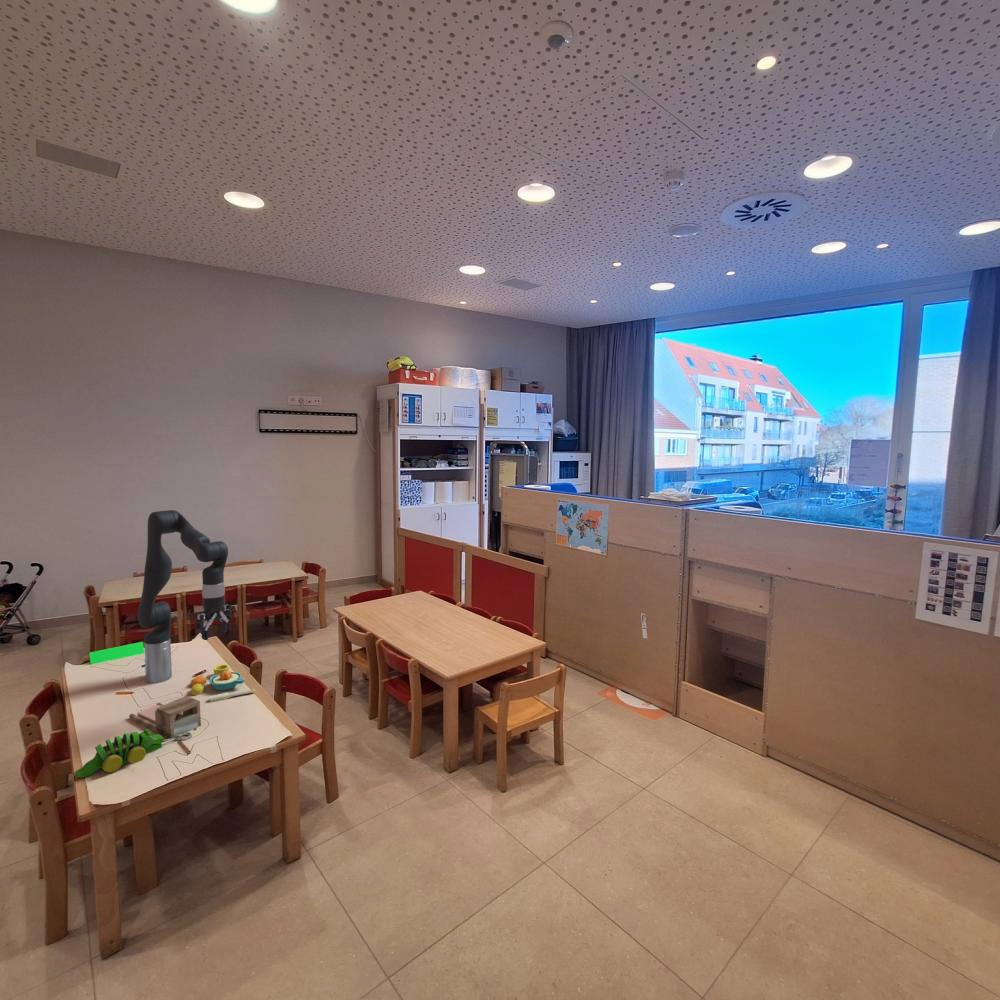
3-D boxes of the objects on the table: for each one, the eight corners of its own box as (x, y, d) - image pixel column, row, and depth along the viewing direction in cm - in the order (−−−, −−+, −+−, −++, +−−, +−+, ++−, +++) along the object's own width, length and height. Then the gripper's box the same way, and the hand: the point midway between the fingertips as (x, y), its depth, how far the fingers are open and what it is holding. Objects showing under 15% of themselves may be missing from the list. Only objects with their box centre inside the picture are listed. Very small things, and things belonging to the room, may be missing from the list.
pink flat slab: (137, 720, 192) (137, 712, 192) (157, 712, 198) (157, 704, 198) (156, 729, 187) (156, 721, 186) (176, 720, 193) (175, 712, 193)
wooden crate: (129, 720, 192) (128, 696, 191) (159, 707, 201) (158, 684, 200) (171, 739, 180) (169, 713, 179) (200, 725, 189) (199, 701, 188)
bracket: (142, 659, 253) (140, 644, 254) (144, 657, 246) (143, 641, 247) (89, 671, 239) (88, 655, 241) (91, 668, 232) (89, 652, 234)
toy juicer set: (180, 688, 218) (179, 670, 217) (225, 674, 232) (225, 657, 231) (209, 711, 200) (208, 691, 199) (256, 694, 214) (255, 676, 213)
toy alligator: (197, 741, 180) (196, 717, 179) (79, 785, 156) (77, 758, 155) (187, 730, 186) (186, 707, 185) (72, 771, 162) (70, 745, 161)
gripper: (221, 588, 205) (222, 628, 207) (189, 598, 192) (191, 640, 194) (236, 590, 203) (237, 631, 205) (205, 600, 189) (206, 643, 191)
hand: (214, 635), depth 199 cm, fingers open, 8 cm apart
